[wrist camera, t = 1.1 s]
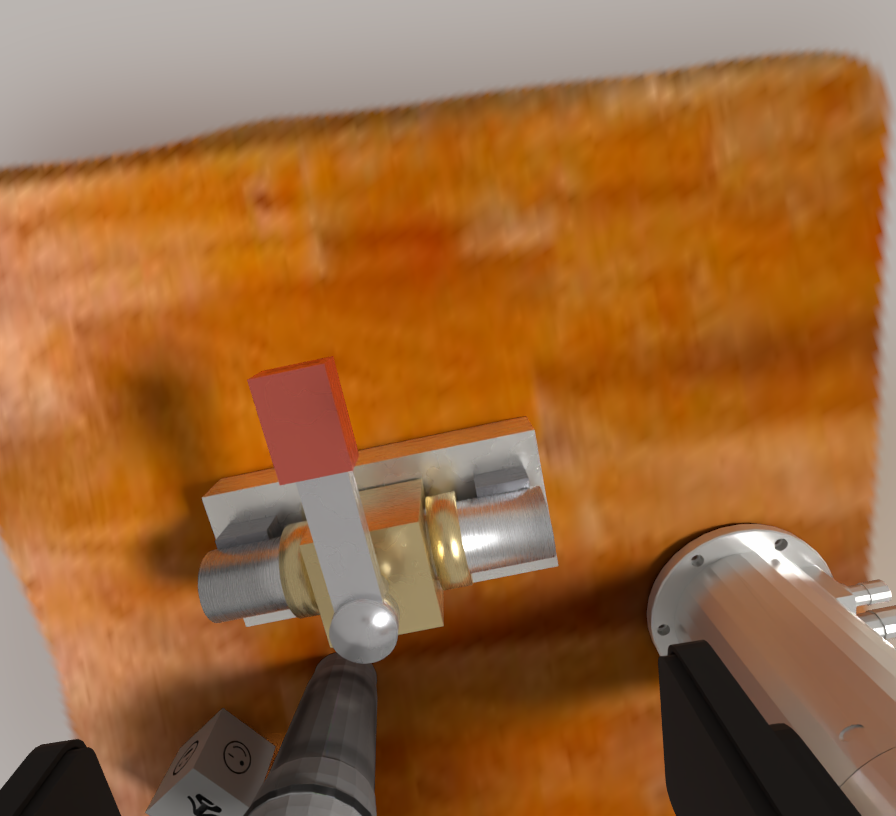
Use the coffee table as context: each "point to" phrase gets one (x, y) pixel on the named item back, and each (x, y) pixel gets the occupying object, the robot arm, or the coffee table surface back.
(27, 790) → the robot arm
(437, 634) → the coffee table surface
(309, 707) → the beverage cup
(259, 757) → the dice cube
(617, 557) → the coffee table surface
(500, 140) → the coffee table surface
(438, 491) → the pipe valve board
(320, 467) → the valve lever
